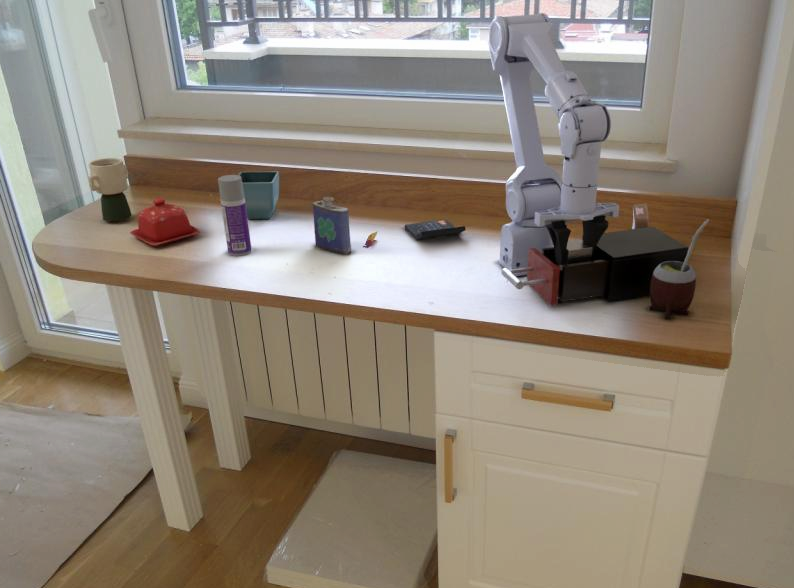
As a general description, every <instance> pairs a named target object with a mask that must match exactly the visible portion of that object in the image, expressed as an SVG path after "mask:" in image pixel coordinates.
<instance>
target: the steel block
mask: <svg viewBox="0 0 794 588" xmlns="http://www.w3.org/2000/svg"><path fill="white" fill-rule="evenodd" d="M591 259H592V247H591V246H590V245H588V244H587V243H586V242H584V241H583V240H582V238H578V239H576V238H575V239H570V240H569V239H568V243H567V249H566V260H565V264H564V265H568V264H575V263H582V262H590V261H591ZM556 266H558V267H559V268H560V270H562V269H563V265H560V264H559V263H557V262H556Z"/></svg>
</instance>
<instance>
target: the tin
mask: <svg viewBox="0 0 794 588" xmlns="http://www.w3.org/2000/svg"><path fill="white" fill-rule="evenodd" d="M632 215H633V216H632V224H631V225H632V226H631V229H638V228H646V227H650V218H649V217H650V215H649V209H648V203H636V204H633V205H632Z"/></svg>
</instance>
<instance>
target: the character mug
mask: <svg viewBox="0 0 794 588" xmlns="http://www.w3.org/2000/svg"><path fill="white" fill-rule="evenodd" d="M88 168H89V173H90V175H89V176H88V183H89V188H90V190H91V191H92V192H95V193H97V194H99V195H101V196H100V204H101V214H102V215H101V216H102V220H103V221H111V222H113V223H114V222H115V221H116V222H117V221H119V222H120V221H126V220H128V219H131V218H132V216H133V214H132V211H131V207H130V205H129V201H128V199H127V197H126V194H125V193H124V192H125V191H127V190H128V188H129V184H128V179H129V172H128V167H127V165H126V164H124V161H123V159H122V158H118V157H107V158H106V157H105V158H99V159H95V160H91V161H90V162H89V163H88Z"/></svg>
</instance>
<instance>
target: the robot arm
mask: <svg viewBox="0 0 794 588" xmlns="http://www.w3.org/2000/svg"><path fill="white" fill-rule="evenodd" d="M553 42H554V25H553V24H552V21H551V19H550V17H549V16H548V14H546V13H544V12H540V13H537V14H524V15H523V14H521V15H510V16H509V15H508V16H503V15H497V16H495V17H494V18H493V20H492V21H491V23H490V26H489V31H488V36H487V45H488V50H489V55H490V61H491V64H492V70H493V72H495V73H496V74H498V75H499V78H500V83H501V84H500V85H501V89H502V94H503V100H504V106H505V111H506V116H507V122H508V126H509V127H508V128H509V134H510V138H511V143H512V150H513V154H514V161H515V166H516V170H515V171H514V173H513V174H512V175H511V176H510V177H509V178H508V179H507V181H506V183H505V208H506V212H507V213H506V214H507V215H508V217H509V218H510V220H512V221H511V222H509V223H505V224H503V225H502V227H501V230H500V245H499V246H500V247H499V259H498V261H497V262H498V263H499V264H500V265H501V266H502V267H503V269H504V268H508V269H509V270H512V269H519V268H526V267H528V253H529V249H531V248H535V249H537V250H538V251H539V252H540V253H542V249H543V248H550V247H554V251H555V257H556V262H557V263H559V264H560V265H564V264H565V260H566V249H567V243H568V241H569V238H570V235H571V232H572V230H571V229H569V228H568V225H567V224H566V223H569V222H578V221H581V223H582V236H583V241H584V242H586V243H587V244H588V245H590V246H591V247H592V256H593V253H594V251H595V248H596V246H597V244H598V242H599V240H600V238H601V236H602V235H603V233H606V231H607V230H608V228H609V223H610V222H609V221H608V220H607V219H606V218H610V217H611V218H619V213H620V205H619V204H617V203H615V202H604V203H603V202H600V203H599V202H597V193H598V183H599V173H600V162H601V152H602V143H603V142H605V141H607V140H608V138H609V136H610V134H611V128H612V120H611V119H612V118H611V114H610V112H609V110H608V107H607V106H606V105H605V104H604V103H601V102H599V103H598V101H597V100H592V98H591V97H590V96H589V93H588V92H587V90H586V89H585V87H584V85H583V84H582V82H581V80H580V78H579V76H578V75H577V74H576V73H575V72H574V71H571V70H566V69H565V67H564V65H563V62H562V60H561V58H560V56H559V53H558V52H557V49H556V47H555V45H554V43H553ZM535 70H536V72H538V74H539V75H540V77H541V78H542V79H543V81H544V82H545V83H546V85H545V88H544V96H545V98H546V100H547V101H548V103H549V104H550V106H551V108H552V110H553V112H554V113H555V115H556V117H557V118H558V121H559V122H558V126H557V127H558V128H557V129H558V135H559V138H560V151H561V154H562V155H563V163H562V178H561V177H560V173H559V172H558V171H557V170H556V169H554V168H553V167H551V166H549V165H548V164H546V162H545V156H544V150H543V144H542V139H541V133H540V128H539V123H538V117H537V111H536V105H535V100H534V95H533V89H532V84H531V79H530V77H531V74H532V72H534V71H535ZM561 179H562V180H561ZM514 275H515V276H517V277H522V276H527V272H522V273H515V274H514Z"/></svg>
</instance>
